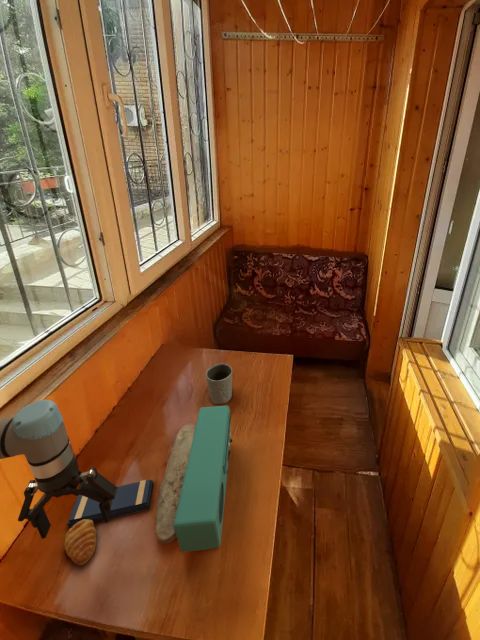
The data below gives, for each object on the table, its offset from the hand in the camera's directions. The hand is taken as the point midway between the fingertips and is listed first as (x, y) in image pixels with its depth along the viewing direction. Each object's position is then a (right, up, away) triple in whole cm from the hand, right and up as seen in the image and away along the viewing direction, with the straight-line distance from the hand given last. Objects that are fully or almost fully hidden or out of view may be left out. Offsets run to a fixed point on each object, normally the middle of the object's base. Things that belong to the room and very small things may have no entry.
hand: (77, 524), depth 77 cm
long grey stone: (+19, -1, +18) cm, 26 cm away
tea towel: (+3, -4, +11) cm, 12 cm away
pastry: (0, -7, +3) cm, 8 cm away
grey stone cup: (+25, +10, +49) cm, 56 cm away
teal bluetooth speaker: (+30, -3, +14) cm, 33 cm away
